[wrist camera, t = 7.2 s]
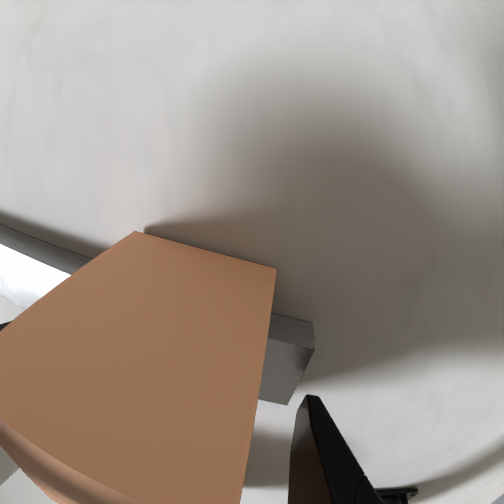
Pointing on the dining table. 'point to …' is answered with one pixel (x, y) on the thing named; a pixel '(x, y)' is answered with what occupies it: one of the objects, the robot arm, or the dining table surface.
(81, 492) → the block
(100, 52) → the dining table surface
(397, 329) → the dining table surface
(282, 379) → the rail
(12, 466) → the salt shaker
